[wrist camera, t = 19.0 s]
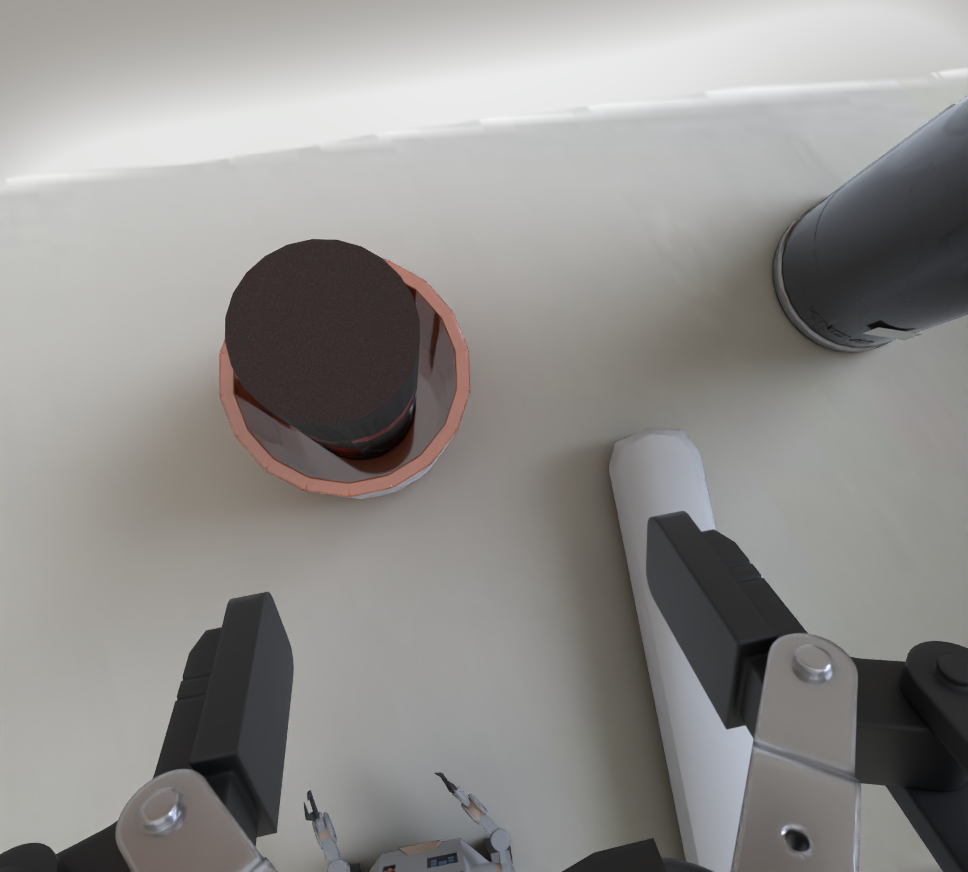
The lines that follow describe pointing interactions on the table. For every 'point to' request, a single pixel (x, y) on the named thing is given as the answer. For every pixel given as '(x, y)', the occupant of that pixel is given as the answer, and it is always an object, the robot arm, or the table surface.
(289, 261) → the deodorant
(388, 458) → the cup
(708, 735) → the tube
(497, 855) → the figurine
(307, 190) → the table surface
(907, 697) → the robot arm
